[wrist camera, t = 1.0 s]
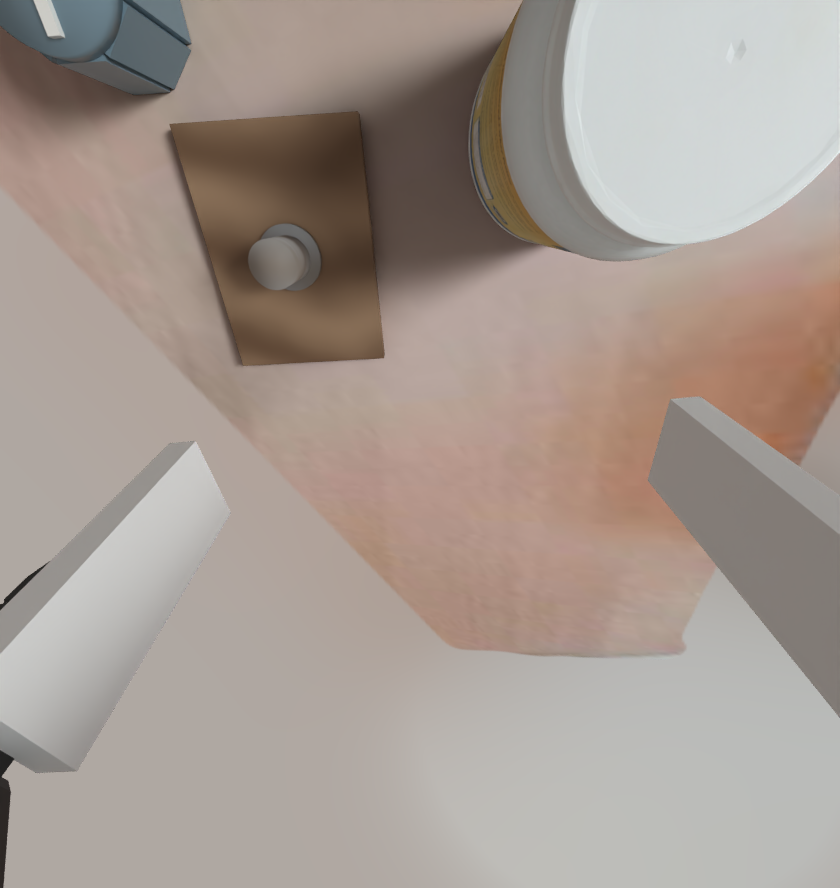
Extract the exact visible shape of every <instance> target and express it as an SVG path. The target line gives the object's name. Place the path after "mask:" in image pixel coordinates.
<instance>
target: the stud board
mask: <svg viewBox="0 0 840 888" xmlns="http://www.w3.org/2000/svg"><path fill="white" fill-rule="evenodd" d="M170 128H171V131H172V134H173V138H174V141H175V144H176V147H177V151H178V154H179V157H180V160H181V164H182V167H183V170H184V174H185V177H186V180H187V183H188V187H189V190H190V193H191V196H192V200H193V203H194V206H195V210H196V213H197V216H198V219H199V223H200V226H201V229H202V233H203V236H204V239H205V242H206V246H207V249H208V252H209V255H210V259H211V262H212V265H213V269H214V272H215V275H216V278H217V282H218V285H219V288H220V291H221V295H222V298H223V301H224V305H225V308H226V311H227V314H228V318H229V321H230V324H231V327H232V331H233V334H234V337H235V341H236V344H237V347H238V350H239V354H240V357H241V360H242V364H243V366H248V365H267V364H285V363H303V362H322V361H340V360H358V359H377V358H384V355H385V354H384V344H383V335H382V325H381V315H380V306H379V296H378V286H377V277H376V267H375V258H374V248H373V238H372V229H371V219H370V209H369V200H368V190H367V180H366V171H365V161H364V152H363V142H362V132H361V123H360V114H359V113H358V111H355V112H340V113H325V114H311V115H296V116H281V117H266V118H252V119H237V120H222V121H207V122H192V123H178V124H170Z"/></svg>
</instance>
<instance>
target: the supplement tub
mask: <svg viewBox="0 0 840 888" xmlns="http://www.w3.org/2000/svg"><path fill="white" fill-rule="evenodd" d="M468 151H469V162H470V169H471V174H472V178H473V182H474V185H475V188H476V191H477V193H478V196H479V198H480V200H481V202H482V204H483V206H484V207H485V209H486V210H487V212H488V213H489V214H490V216H491V217H492V218H493V219H494V221H495V222H496V223H497V224H498V225H499V226H500V227H502V228H503V229H504V230H505V231H507V232H508V233H510V234H511V235H513V236H515V237H517V238H519V239H521V240H524V241H527V242H531V243H535V244H541V245H544V246H548V247H552V248H556V249H560V250H564V251H568V252H571V253H575V254H578V255H581V256H584V257H587V258H591V259H596V260H603V261H630V260H639V259H645V258H650V257H655V256H658V255H661V254H664V253H668V252H670V251H673V250H676V249H678V248H680V247H682V246H685V245H687V244H695V243H701V242H706V241H710V240H713V239H717V238H720V237H723V236H726V235H729V234H731V233H734V232H737V231H739V230H741V229H743V228H745V227H747V226H749V225H751V224H753V223H755V222H757V221H758V220H760V219H762V218H764V217H765V216H767V215H768V214H770V213H771V212H773V211H774V210H776V209H777V208H779V207H780V206H782V205H783V204H785V203H786V202H787V201H789V200H790V199H791V198H793V197H794V196H795V195H796V194H797V193H799V192H800V191H801V190H802V189H803V188H805V187H806V186H807V185H808V184H809V183H810V182H811V181H813V180H814V179H815V178H816V177H817V175H818V174H820V173H821V172H822V171H823V170H824V169H825V168H826V167H827V166H828V165H829V164H830V163H831V161H832V160H833V159H834V158H835V157H836V156H837V155H838V154H839V153H840V0H523V1H522V3H521V5H520V7H519V9H518V11H517V13H516V15H515V17H514V19H513V21H512V22H511V24H510V26H509V28H508V30H507V32H506V34H505V36H504V38H503V40H502V42H501V44H500V46H499V48H498V50H497V51H496V53H495V55H494V57H493V58H492V60H491V62H490V64H489V66H488V67H487V69H486V71H485V74H484V76H483V78H482V80H481V83H480V85H479V88H478V91H477V94H476V97H475V100H474V104H473V108H472V113H471V119H470V126H469V140H468Z"/></svg>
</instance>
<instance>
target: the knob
mask: <svg viewBox="0 0 840 888" xmlns="http://www.w3.org/2000/svg"><path fill="white" fill-rule="evenodd" d="M0 26H1V27H2V28H3V29H5V30H6V31H7V32H8V33H9V34H11V35H12V36H13V37H15V38H16V39H17V40H19V41H21V42H22V43H24V44H25V45H27V46H29V47H31V48H33V49H35V50H37V51H39V52H41V53H42V54H43V55H44V56H45V57H46V58H48V59H49V60H50V61H51V62H54V63H56V64H58V65H61V66H63V67H66V68H68V69H71V70H73V71H76V72H78V73H81V74H83V75H85V76H88V77H90V78H93V79H95V80H98V81H100V82H103V83H105V84H108V85H110V86H113V87H115V88H118V89H120V90H122V91H125V92H127V93H130V94H132V95H140V94H154V93H168V92H170V88H172V89H175V87H176V85H177V82H178V80H179V77H180V75H181V73H182V70H183V68H184V66H185V63H186V61H187V59H188V56H189V54H190V52H191V50H190V49H189V48H188V47H187V46H186V45H185V44H191V41H190V37H189V33H188V29H187V25H186V21H185V18H184V14H183V10H182V6H181V2H180V0H0ZM169 87H170V88H169Z"/></svg>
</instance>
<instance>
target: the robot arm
mask: <svg viewBox="0 0 840 888" xmlns="http://www.w3.org/2000/svg"><path fill="white" fill-rule="evenodd" d="M648 481H649V483H650V484H651V485H652V486H653V488H654V489H655V490H656V491H657V493H658V494H659V495H660V496H661V497H662V499H663V500H664V501H665V502H666V504H667V505H668V506H669V507H670V509H671V510H672V511H673V512H674V514H675V515H676V516H677V517H678V518H679V520H680V521H681V522H682V523H683V525H684V526H685V527H686V528H687V530H688V531H689V532H690V533H691V535H692V536H693V537H694V538H695V539H696V541H697V542H698V543H699V544H700V546H701V547H702V548H703V549H704V551H705V552H706V553H707V554H708V556H709V557H710V558H711V559H712V560H713V562H714V563H715V564H716V565H717V567H718V568H719V569H720V570H721V572H722V573H723V574H724V575H725V576H726V578H727V579H728V580H729V581H730V583H731V584H732V585H733V586H734V588H735V589H736V590H737V591H738V592H739V594H740V595H741V596H742V597H743V599H744V600H745V601H746V602H747V603H748V605H749V606H750V607H751V609H752V610H753V611H754V612H755V614H756V615H757V616H758V617H759V618H760V620H761V621H762V622H763V623H764V625H765V626H766V627H767V628H768V630H769V631H770V632H771V633H772V634H773V636H774V637H775V638H776V639H777V641H778V642H779V643H780V644H781V646H782V647H783V648H784V649H785V650H786V652H787V653H788V654H789V656H790V657H791V658H792V659H793V660H794V662H795V663H796V664H797V665H798V667H799V668H800V669H801V670H802V672H803V673H804V674H805V675H806V677H807V678H808V679H809V680H810V681H811V683H812V684H813V685H814V686H815V688H816V689H817V690H818V691H819V692H820V694H821V695H822V696H823V698H824V699H825V700H826V701H827V702H828V704H829V705H830V706H831V707H832V709H833V710H834V711H835V712H836V714H837V715H838V716H839V717H840V495H839V494H837V493H835V492H834V491H833V490H831V489H830V488H829V487H827V486H826V485H824V484H823V483H822V482H820V481H819V480H817V479H816V478H814V477H813V476H812V475H810V474H809V473H807V472H806V471H805V470H803V469H802V468H800V467H799V466H798V465H796V464H795V463H793V462H792V461H791V460H789V459H788V458H786V457H785V456H783V455H782V454H781V453H779V452H778V451H776V450H775V449H774V448H772V447H771V446H769V445H768V444H766V443H765V442H764V441H762V440H761V439H759V438H758V437H757V436H755V435H754V434H752V433H751V432H749V431H748V430H747V429H745V428H744V427H742V426H741V425H740V424H738V423H737V422H735V421H734V420H733V419H731V418H730V417H728V416H727V415H725V414H724V413H723V412H721V411H720V410H718V409H717V408H716V407H714V406H713V405H711V404H710V403H708V402H707V401H706V400H704V399H703V398H701V397H688V398H677V399H670V402H669V406H668V409H667V413H666V416H665V420H664V424H663V427H662V431H661V434H660V438H659V442H658V445H657V449H656V452H655V456H654V459H653V463H652V467H651V470H650V474H649V477H648ZM230 514H231V512H230V510H229V508H228V506H227V504H226V502H225V500H224V498H223V496H222V494H221V492H220V490H219V488H218V486H217V484H216V482H215V480H214V477H213V476H212V473H211V471H210V469H209V467H208V465H207V463H206V461H205V459H204V457H203V455H202V453H201V451H200V449H199V447H198V445H197V443H196V441H190V442H179V443H170V444H169V445H168V446H167V447H165V448H164V449H163V450H162V451H161V452H160V453H159V454H158V455H157V457H156V458H154V459H153V460H152V461H151V462H150V463H149V465H147V466H146V467H145V468H144V469H143V470H142V471H141V472H140V473H139V474H138V475H137V476H136V477H135V478H134V479H133V480H132V481H131V482H130V483H129V484H128V485H127V486H126V487H125V488H124V489H123V490H122V491H121V492H120V493H119V494H118V495H117V496H116V497H115V498H114V499H113V500H112V501H111V502H110V503H109V504H108V505H107V506H106V507H105V508H104V509H103V510H102V511H101V512H100V513H99V514H98V515H97V516H96V517H95V518H93V520H92V521H90V522H89V523H88V524H87V525H86V526H85V527H84V529H82V530H81V532H79V533H78V534H77V535H76V536H75V537H74V538H73V539H72V540H71V541H70V542H69V543H68V544H67V545H66V546H65V547H64V548H63V549H62V550H61V551H60V552H59V553H58V554H57V555H56V556H55V557H54V558H53V559H52V560H51V561H49V562H48V563H47V564H45V565H44V566H43V567H41V568H39V569H38V570H37V571H35V572H34V573H32V574H31V575H29V576H28V577H27V578H26V579H25V580H24V581H23V582H22V583H21V584H20V585H19V586H17V587H16V588H15V589H14V590H13V591H12V592H11V593H10V594H9V595H8V596H7V597H6V598H5V599H4V603H3V604H0V888H3V883H4V871H5V858H6V845H7V833H8V819H9V807H10V794H11V791H10V787H9V782H8V781H7V780H6V779H4V778H2V775H3V774H4V772H5V771H6V770H7V768H8V767H9V765H10V764H11V763H12V761H13V760H15V761H17V762H19V763H20V764H22V765H24V766H25V767H27V768H29V769H30V770H32V771H34V772H35V773H45V772H68V771H77V770H78V769H79V767H80V765H81V763H82V762H83V760H84V758H85V757H86V755H87V753H88V752H89V750H90V748H91V747H92V745H93V743H94V742H95V740H96V738H97V737H98V735H99V733H100V732H101V730H102V728H103V727H104V725H105V723H106V722H107V720H108V718H109V717H110V715H111V713H112V712H113V710H114V708H115V706H116V705H117V703H118V701H119V700H120V698H121V696H122V695H123V693H124V691H125V690H126V688H127V686H128V685H129V683H130V681H131V680H132V678H133V676H134V675H135V673H136V671H137V669H138V668H139V666H140V664H141V663H142V661H143V659H144V658H145V656H146V654H147V653H148V651H149V649H150V648H151V646H152V644H153V643H154V641H155V639H156V637H157V636H158V634H159V633H160V631H161V629H162V628H163V626H164V624H165V623H166V621H167V619H168V617H169V616H170V614H171V612H172V611H173V609H174V607H175V606H176V604H177V602H178V601H179V599H180V597H181V596H182V594H183V592H184V591H185V589H186V587H187V585H188V584H189V582H190V581H191V579H192V577H193V575H194V574H195V572H196V571H197V569H198V567H199V565H200V564H201V562H202V561H203V559H204V557H205V555H206V554H207V552H208V550H209V549H210V547H211V545H212V543H213V542H214V540H215V539H216V537H217V535H218V534H219V532H220V530H221V528H222V527H223V525H224V523H225V522H226V520H227V519H228V517H229V515H230Z"/></svg>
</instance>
